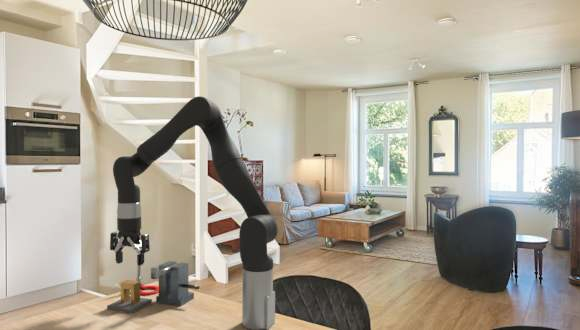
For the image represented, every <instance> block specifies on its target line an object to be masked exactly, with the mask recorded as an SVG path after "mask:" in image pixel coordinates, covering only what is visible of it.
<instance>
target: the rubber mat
mask: <svg viewBox="0 0 580 330" xmlns="http://www.w3.org/2000/svg"><path fill="white" fill-rule="evenodd" d="M152 303H153V299H152V298H147V297H146V298H145V297H140V302H139V303H137V304H135V305H131V295H130V301H128V302H126V303H121V299H119V300H116V301H114V302H112V303H109V304H108V305H106V310H109V311H114V312H121V313H126V314H134V313H136V312H137V311H139V310H141V309H143V308H145V307H147V306H149V305H151V304H152Z"/></svg>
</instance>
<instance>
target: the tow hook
mask: <svg viewBox="0 0 580 330" xmlns="http://www.w3.org/2000/svg"><path fill="white" fill-rule="evenodd" d="M141 266H142V265H140V266H139V265H137V267H136V269H137V270H136V277H135V278H136V280H135V281H139V282H140V296H153V295H156V294H159V285H158V286H157V285H145V284H142V277H141V273H142V272H141V271H142V267H141ZM151 289H152V291H142V290H151Z"/></svg>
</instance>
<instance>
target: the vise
mask: <svg viewBox="0 0 580 330" xmlns="http://www.w3.org/2000/svg"><path fill="white" fill-rule="evenodd" d="M150 279H152V280H158V287H159V293H158V295H156V298H155V300H156V301H155V302H156V303H159V304H164V303H165V304H166V305H170V304H172V305H171V306H179V307H182V306H183V305H185V304H187V303H188V302H190V301H192V300H193V299H195V293H194V292H193V291H192V292H191V291H189V289H193V290H199V289H200V285H195V284H189V263H188V262H179V263H178V262H177V261H174V260H173V261H171V260H169V261H166V262H162V263H161V264H159V265H158V267H155V266H152V267H150ZM165 304H164V305H165Z"/></svg>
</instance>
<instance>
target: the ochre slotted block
mask: <svg viewBox="0 0 580 330" xmlns="http://www.w3.org/2000/svg"><path fill="white" fill-rule="evenodd" d="M130 296H131V305H135V304H137V303H139V302H140V298H141V295H140V282H139V281H136V280H130V279H125V280H123V281H121V282H120V300H121V303H126V302H128V301H130Z"/></svg>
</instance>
